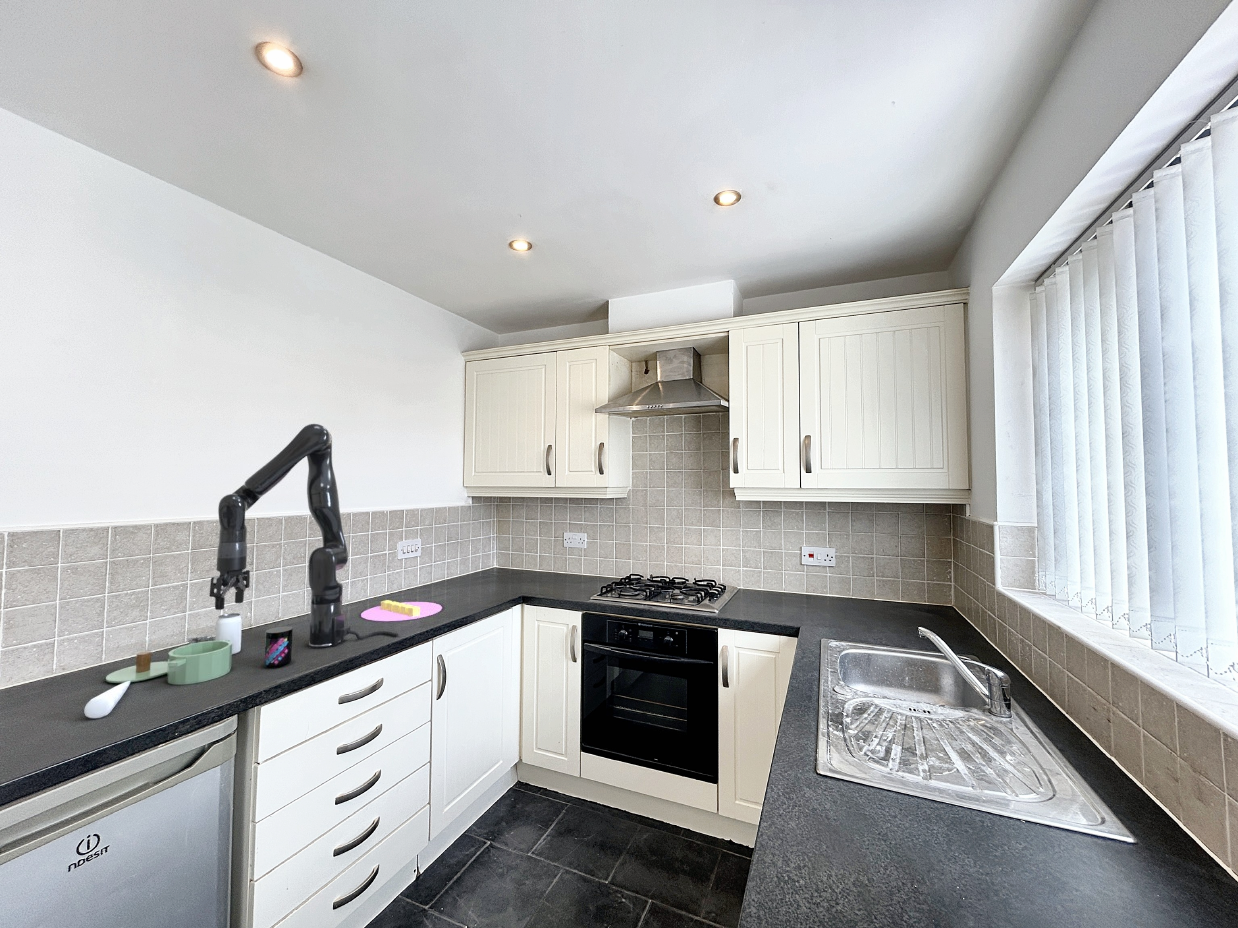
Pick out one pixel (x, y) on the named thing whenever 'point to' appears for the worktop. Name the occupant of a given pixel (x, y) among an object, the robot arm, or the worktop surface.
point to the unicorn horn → (105, 701)
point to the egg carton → (200, 639)
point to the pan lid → (139, 670)
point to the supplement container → (278, 647)
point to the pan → (199, 662)
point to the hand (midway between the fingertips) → (229, 606)
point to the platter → (400, 611)
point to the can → (229, 630)
